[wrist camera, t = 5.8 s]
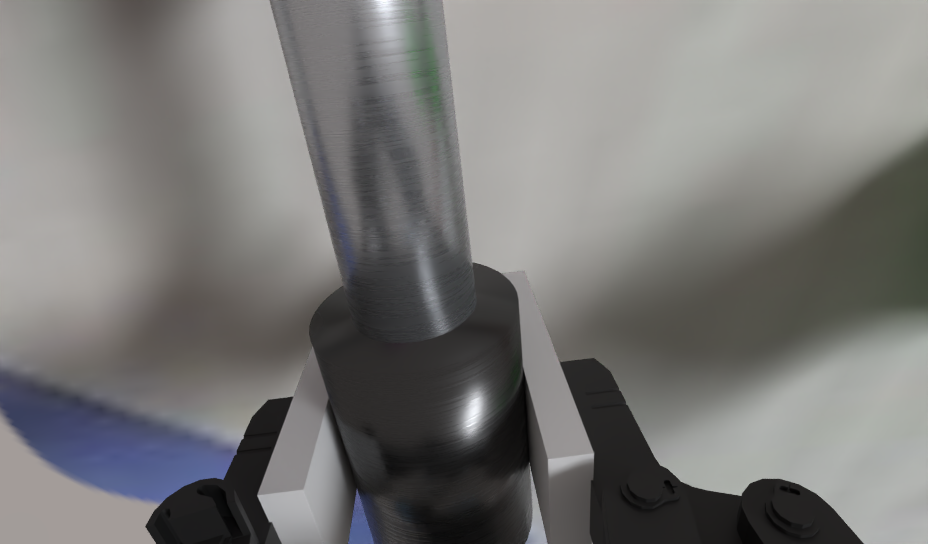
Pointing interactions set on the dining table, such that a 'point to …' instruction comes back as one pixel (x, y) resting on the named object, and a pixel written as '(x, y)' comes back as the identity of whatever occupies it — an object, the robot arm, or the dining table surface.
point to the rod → (407, 280)
